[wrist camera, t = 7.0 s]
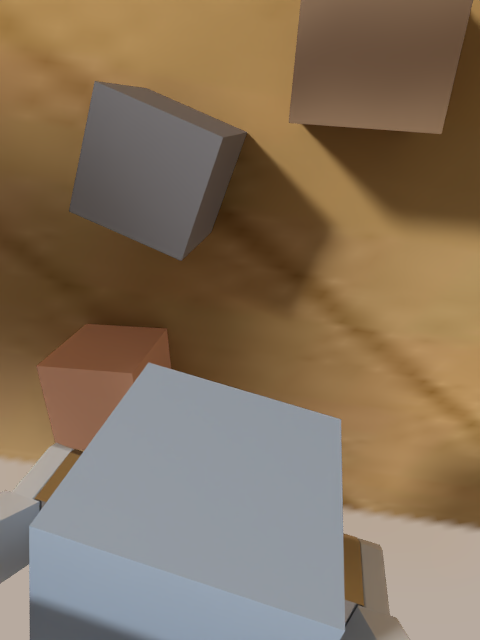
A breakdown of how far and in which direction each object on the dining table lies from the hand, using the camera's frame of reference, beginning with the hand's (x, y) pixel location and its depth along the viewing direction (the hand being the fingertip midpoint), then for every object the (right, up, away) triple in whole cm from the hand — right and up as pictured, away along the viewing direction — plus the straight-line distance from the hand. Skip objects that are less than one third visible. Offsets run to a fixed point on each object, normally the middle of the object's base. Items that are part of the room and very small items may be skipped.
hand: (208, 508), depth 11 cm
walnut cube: (+6, +15, +8) cm, 18 cm away
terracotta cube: (-6, +2, +16) cm, 17 cm away
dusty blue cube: (0, +1, +1) cm, 2 cm away
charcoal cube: (-2, +12, +11) cm, 16 cm away
